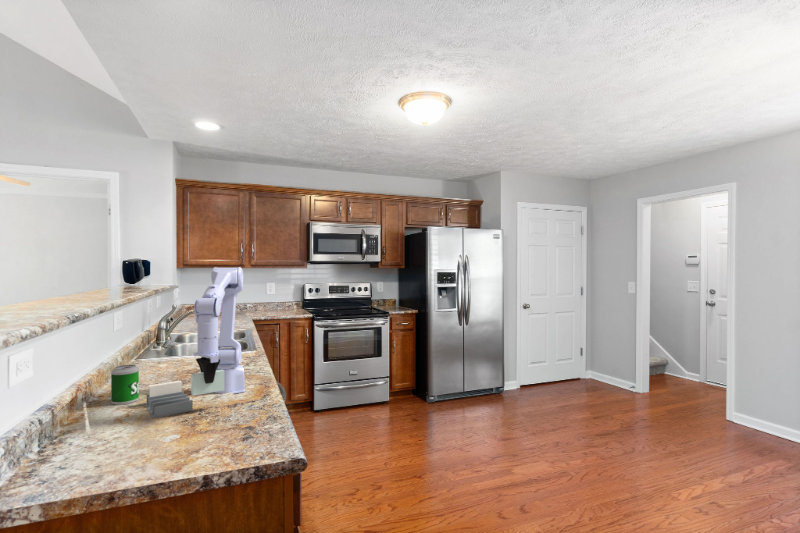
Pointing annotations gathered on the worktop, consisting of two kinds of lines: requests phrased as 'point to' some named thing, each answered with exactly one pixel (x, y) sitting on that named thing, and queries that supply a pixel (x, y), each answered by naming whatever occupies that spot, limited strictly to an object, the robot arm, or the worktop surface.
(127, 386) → the soda can
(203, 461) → the worktop surface
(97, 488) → the worktop surface
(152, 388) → the white rectangular block
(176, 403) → the dish rack
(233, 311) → the robot arm
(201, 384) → the celadon plate
